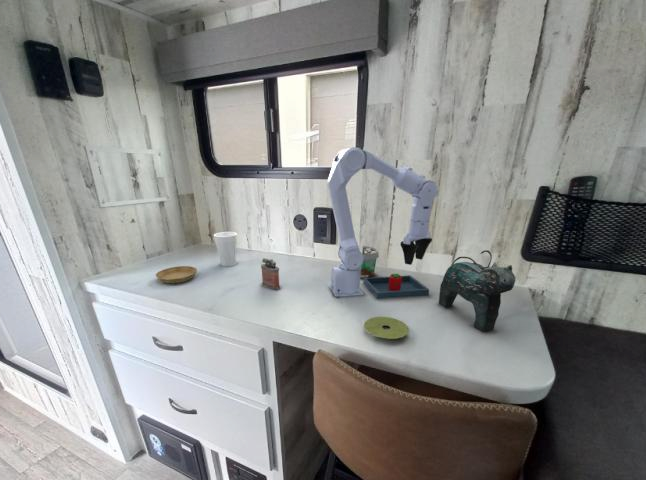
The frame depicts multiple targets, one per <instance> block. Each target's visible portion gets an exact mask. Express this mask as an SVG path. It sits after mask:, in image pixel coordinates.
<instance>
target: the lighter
mask: <svg viewBox="0 0 646 480" xmlns="http://www.w3.org/2000/svg"><path fill="white" fill-rule="evenodd" d="M276 265H277V262H276V261H274V260H273V259H272V258H271V259H268V258H265V257H263V258H262V264H261V265H260V268H261V278H262V281H261V285H262V286H263V287H265V288H267V289H270V290H273V291H279V290H280V289H281V285H280V273H279V272H280V267H278V266H276Z"/></svg>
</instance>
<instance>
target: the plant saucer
mask: <svg viewBox="0 0 646 480" xmlns="http://www.w3.org/2000/svg"><path fill="white" fill-rule="evenodd" d="M197 272H198V268H196V267H194V266H190V265H181V266H180V265H178V266H171V267H168V268H163V269H161V270H160V271H158V272H156V273H155V277H156V278H157V279H158V280H160V281H162V282H163V283H166V284H179V283H180V284H181V283H185V282H188V281H189V280H191V279H192V278H193V277H195V275H196V273H197Z"/></svg>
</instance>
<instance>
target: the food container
mask: <svg viewBox="0 0 646 480" xmlns="http://www.w3.org/2000/svg"><path fill="white" fill-rule="evenodd" d="M361 253H362V254H363V257H364V262H363V264H362V266H361V274H360V280H364V278H374V276H375V271H376V270H375V269H376V265H377V259H378V258H379V254H380V253H379V250H378V249H377V248H376V247H372V246H366V245H363V246H362V252H361Z"/></svg>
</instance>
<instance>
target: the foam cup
mask: <svg viewBox="0 0 646 480" xmlns="http://www.w3.org/2000/svg"><path fill="white" fill-rule="evenodd" d="M213 240H214V243H215V246H216V250H217V253H218V258H219V261H220V264H221V266H222V267H233V266H236V265H237V252H238V251H237V249H238V234H237V232H235V231H221V232H216V233H213Z"/></svg>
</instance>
